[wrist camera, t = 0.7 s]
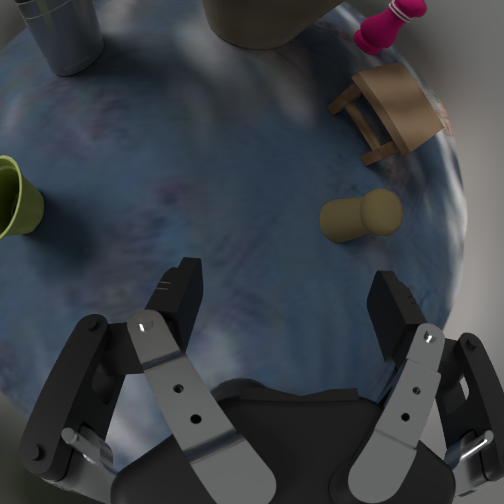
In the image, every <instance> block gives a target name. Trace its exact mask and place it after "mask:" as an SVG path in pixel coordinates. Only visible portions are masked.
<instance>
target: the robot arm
mask: <svg viewBox="0 0 504 504" xmlns="http://www.w3.org/2000/svg"><path fill="white" fill-rule="evenodd" d="M15 2H16V4H17V6H18V8H19V10H20V12H21V14H22V16H23V18H24V20H25V22H26V24H27V26H28V28H29V30H30V32H31V34H32V35H33V37H34V39H35V41H36V43H37V45H38V46H39V48H40V50H41V52H42V54H43V55H44V57H45V59H46V61H47V62H48V64H49V66H50V68H51V69H52V71H53V72H54V73H55V74H56V75H58V76H69V75H73V74H76V73H78V72H80V71H82V70H84V69H85V68H87V67H88V66H90V65H91V64H92V63H93V62H94V61H95V60H96V59H97V58H98V57H99V56H100V54H101V53H102V51H103V48H104V42H103V38H102V34H101V30H100V26H99V22H98V18H97V14H96V9H95V5H94V1H93V0H15ZM202 298H203V276H202V263H201V259H200V258H188V257H184V258H183V259H182V261H181V263H180V265H179V267H178V268H175V267H172V268H170V269H169V270H168V271H167V272H165V273H164V274H163V276H162V278H161V280H160V283H158V285H157V287H156V289H155V291H154V292H153V294H152V296H151V298H150V300H149V302H148V304H147V306H146V307H145V309H144V310H142V311H139V312H137V313H135V314H133V315H132V316H131V317H130V318H129V320H128V322H125V323H114V324H108V322H107V320H106V318H105V317H104V316H102V315H99V314H91V315H88V316H85V317H84V318H82V319H81V320H80V321H79V322H78V323H77V325H76V327H75V328H74V330H73V332H72V334H71V335H70V337H69V339H68V341H67V342H66V344H65V346H64V348H63V350H62V351H61V353H60V355H59V357H58V359H57V361H56V363H55V365H54V366H53V368H52V370H51V372H50V374H49V376H48V378H47V380H46V383H45V385H44V387H43V389H42V391H41V393H40V395H39V397H38V400H37V402H36V404H35V406H34V409H33V411H32V413H31V416H30V418H29V421H28V423H27V426H26V429H25V431H24V433H23V436H22V439H21V442H20V445H19V458H20V460H21V462H22V464H23V466H24V467H25V468H26V469H27V470H29V471H30V472H32V473H34V474H35V475H37V476H39V477H41V478H42V479H43V480H45V481H47V482H49V483H51V484H53V485H55V486H57V487H60V488H62V489H64V490H69V491H71V492H73V493H76V494H83V495H86V496H88V497H90V498H93V499H95V500H98V501H101V502H103V503H106V504H452V502H453V499H454V497H456V496H460V497H461V496H466V495H468V494H471V493H473V492H475V491H477V490H479V489H481V488H483V487H485V486H487V485H489V484H491V483H493V482H495V481H497V480H499V479H500V478H502V477H504V392H503V389H502V387H501V385H500V382H499V379H498V377H497V375H496V372H495V370H494V368H493V365H492V363H491V361H490V359H489V357H488V355H487V352H486V350H485V348H484V346H483V344H482V342H481V341H480V340H479V338H478V337H476V336H475V335H474V334H471V333H463V334H462V335H461V336H460V338H459V339H458V341H456V340H451V339H447V338H445V336H444V334H443V332H442V331H441V330H440V329H439V328H438V327H436V326H435V325H432V324H429V323H427V321H426V319H425V317H424V315H423V314H422V312H421V310H420V308H419V306H418V304H416V303H417V302H416V301H415V299H414V298H413V295H412V293H411V292H410V290H409V288H407V287H406V286H405V285H404V284H403V283H402V282H399V280H398V279H397V277H396V275H395V273H394V272H393V271H380V270H378V271H377V272H376V274H375V277H374V280H373V283H372V286H371V289H370V292H369V295H368V298H367V309H368V312H369V315H370V318H371V321H372V324H373V327H374V330H375V333H376V336H377V339H378V342H379V345H380V348H381V351H382V354H383V358H384V361H385V363H387V362H395V367H394V368H393V370H392V372H391V374H390V376H389V378H388V380H387V382H386V384H385V386H384V388H383V390H382V392H381V393H380V395H379V397H378V399H377V400H376V402H374V401H372V400H369V399H367V398H363V397H359V396H358V392H357V388H354V389H332V390H327V391H323V392H319V393H314V394H310V395H306V396H297V395H293V394H289V393H285V392H281V391H277V390H273V389H264V388H249V387H241V390H240V395H234V396H230V397H226V398H223V399H220V400H218V401H215V399H214V398H213V396H212V395H211V393H210V392H209V390H208V388H207V387H206V385H205V384H204V382H203V381H202V379H201V377H200V376H199V374H198V373H197V371H196V369H195V368H194V366H193V364H192V363H191V361H190V359H189V358H188V356H187V354H186V353H185V352H186V349H187V345H188V342H189V339H190V336H191V333H192V329H193V326H194V323H195V320H196V317H197V314H198V311H199V307H200V304H201V301H202ZM139 373H144V374H145V376H146V378H147V381H148V383H149V385H150V388H151V390H152V392H153V394H154V396H155V399H156V401H157V403H158V405H159V407H160V409H161V411H162V413H163V415H164V417H165V419H166V421H167V423H168V425H169V427H170V429H171V431H172V433H173V434H172V435H170V436H169V437H168V438H166V439H165V440H164V441H162V442H161V443H160V444H158V445H157V446H155V447H154V448H153V449H151V450H150V451H148V452H147V453H146V454H144V455H143V456H141V457H140V458H138V459H137V460H135V461H134V462H132V463H131V464H129V465H128V466H126V467H125V468H123V469H122V470H121V471H120V472H119V473H118V474H116V473H115V471H114V468H113V453H112V450H111V448H110V447H109V445H108V444H107V443H106V442H105V439H106V435H107V432H108V428H109V425H110V422H111V419H112V415H113V412H114V409H115V406H116V403H117V400H118V397H119V394H120V391H121V388H122V385H123V382H124V379H125V376H126V374H139ZM463 377H465V380H466V382H467V385H468V388H469V395H468V398H467V400H466V399H465V396H464V393H463V390H462V387H461V384H460V380H461V379H462V378H463ZM434 398H435V399H436V403H437V407H438V411H439V414H440V419H441V423H442V427H443V432H444V437H445V442H446V447H447V451H446V453H445V458H444V460H442V459H441V458H440V457H438V456H437V455H436V454H435V453H434V452H432V451H431V450H430V449H429V448H428V447H427V446H426V445H425V444H423V443H422V442H421V441H420V440H419V439H420V436H421V434H422V431H423V429H424V426H425V424H426V421H427V418H428V416H429V413H430V410H431V407H432V404H433V401H434Z"/></svg>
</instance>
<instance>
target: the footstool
mask: <svg viewBox="0 0 504 504" xmlns="http://www.w3.org/2000/svg"><path fill="white" fill-rule="evenodd" d="M351 78H352V79H353V81H354V83H353V84H352V85H351V86H350V87H348V88H347V89H346V90H345V91H344V92H343V93H342V94H341V95H339V96H338V97H337V98H336V99H335V100H334V101H333V102H332V103H331V104H330V105H328V106H327V108H328V109H329V110H330V112H331V113H332V115H335V114H337V113H339V112H341V111H342V110H343V109H344V108H345V109H346V110H347V112H348V113H349V115H350V116H351V118H352V119H353V121H354V122H355V124H356V125H357V127H358V128H359V130H360V131H361V133H362V134H363V136H364V138H365V139H366V141H367V142H368V144H369V146H370V147H371V149H372V151H370V152H368V153H366V154H364V155H363V156H361V157H360V158H361V159H362V161H363V163H364V164H365V166H367V165H369V164H372V163H374V162H376V161H379V160H381V159H383V158H385V157H388V156H390V155H392V154H395V153H397V152H399V151H400V153H401V154H402V156H403V155H406V154H408V153H411V152H412V151H413V150H415V149H416V148H417V147H419V146H420V145H421V144H423V143H424V142H425V141H427V140H428V139H430V138H431V137H432V136H434V135H435V134H436V133H438V132H439V131H440V130H442V129H443V128H444V127H443V125H442V123H441V121H440V119H439V118H438V116H437V114H436V112H435V111H434V109H433V107H432V106H431V104H430V102H429V101H428V99H427V98H426V96H425V94H424V93H423V91H422V90H421V88H420V87H419V85H418V84H417V82H416V81H415V79H414V78H413V77H412V75H411V74H410V72H409V71H408V70H407V68H406V67H405V66H404V64H403V63H402V62H397V63H392V64H387V65H383V66H378V67H374V68H370V69H366V70H362V71H358V72H357V73H356V74H354V75H353V76H352V77H351ZM362 94H363V95H364V97H365V98H366V100H367V101H369V103H370V104H371V106H372V107H373V109H374V110H375V112H376V113H377V115H378V116H379V118H380V119H381V121H382V122H383V124H384V125H385V127H386V129H387V130H388V132H389V134H390V135H391V137H392V141H390V142H388V143H386V144H384V145H382V146H381V144H380V143H379V141H378V139H377V138H376V136H375V135H374V133H373V131H372V130H371V128H370V127H369V125H368V124H367V122H366V121H365V119H364V117H363V116H362V114H361V113H360V112H359V110H358V109H357V107H356V106H355V104H354V103H353V101H354V100H356V99H357V98H358V97H359V96H361V95H362Z"/></svg>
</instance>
